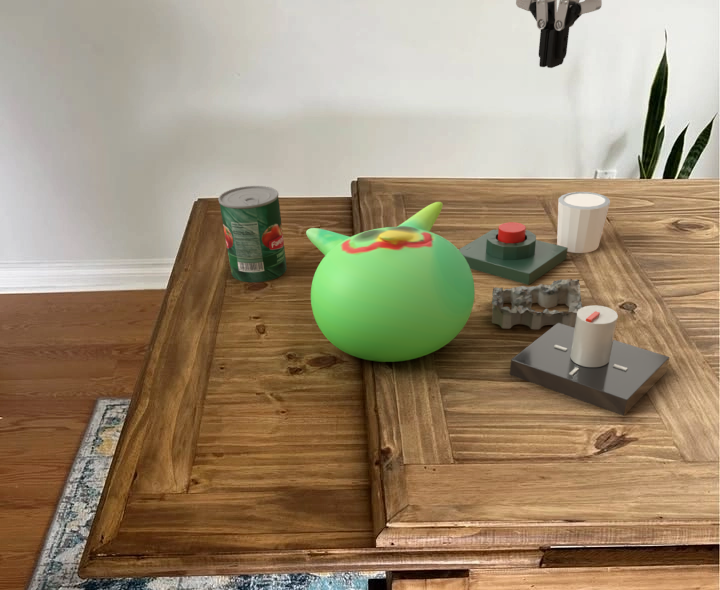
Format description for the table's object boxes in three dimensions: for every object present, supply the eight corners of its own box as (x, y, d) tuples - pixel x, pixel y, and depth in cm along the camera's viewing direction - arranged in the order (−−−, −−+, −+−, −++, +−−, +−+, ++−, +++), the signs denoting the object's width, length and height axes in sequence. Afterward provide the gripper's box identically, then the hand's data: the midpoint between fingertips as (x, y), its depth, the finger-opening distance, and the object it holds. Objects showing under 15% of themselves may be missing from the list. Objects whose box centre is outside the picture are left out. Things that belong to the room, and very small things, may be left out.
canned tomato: (227, 268, 105) (213, 190, 98) (280, 259, 107) (270, 181, 100) (237, 291, 99) (223, 209, 92) (293, 280, 101) (284, 200, 94)
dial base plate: (664, 377, 78) (670, 355, 76) (622, 421, 72) (627, 398, 70) (555, 341, 85) (558, 321, 83) (508, 379, 79) (510, 358, 77)
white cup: (571, 262, 101) (579, 212, 96) (542, 245, 106) (548, 196, 101) (612, 252, 103) (621, 202, 98) (581, 236, 107) (588, 187, 103)
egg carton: (579, 309, 90) (584, 277, 88) (579, 338, 85) (585, 306, 82) (492, 304, 92) (494, 273, 90) (487, 332, 87) (489, 301, 84)
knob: (581, 344, 79) (588, 299, 75) (616, 355, 77) (625, 309, 73) (563, 359, 77) (570, 313, 73) (598, 371, 75) (607, 325, 71)
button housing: (566, 262, 101) (569, 234, 98) (528, 289, 95) (531, 260, 93) (491, 243, 107) (493, 216, 104) (452, 267, 101) (453, 239, 99)
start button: (529, 238, 99) (531, 225, 98) (515, 247, 97) (516, 234, 96) (506, 232, 101) (507, 220, 100) (492, 241, 99) (493, 228, 98)
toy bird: (325, 396, 78) (312, 265, 69) (309, 323, 91) (296, 204, 82) (488, 375, 80) (497, 244, 70) (449, 306, 93) (453, 187, 83)
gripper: (652, -130, 78) (621, 65, 89) (528, -124, 85) (515, 54, 97) (620, -127, 73) (592, 77, 85) (493, -121, 81) (483, 65, 93)
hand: (551, 65), depth 91 cm, fingers closed
